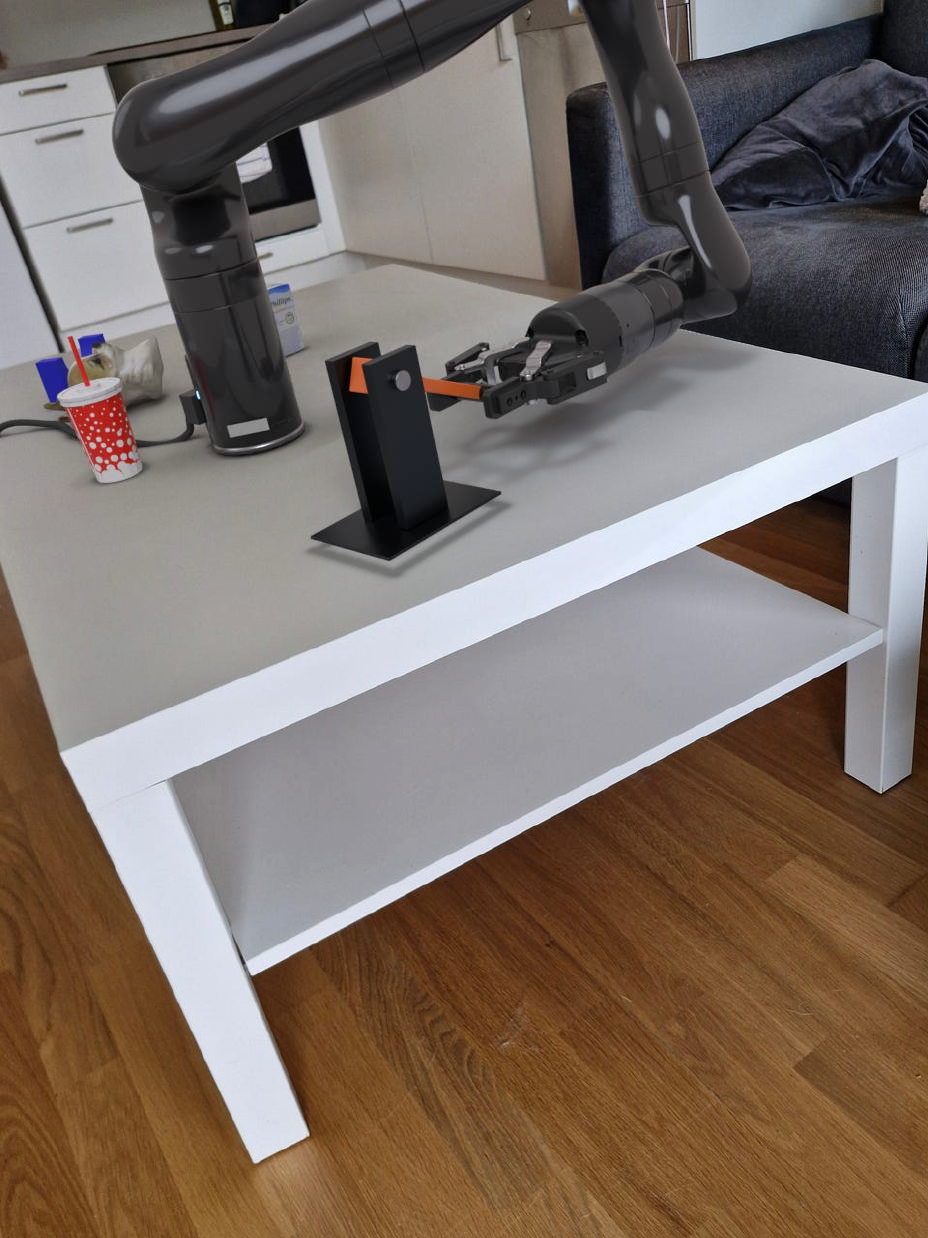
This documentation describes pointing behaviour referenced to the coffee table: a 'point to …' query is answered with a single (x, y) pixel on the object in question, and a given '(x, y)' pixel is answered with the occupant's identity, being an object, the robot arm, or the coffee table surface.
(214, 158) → the robot arm
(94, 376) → the ceramic sculpture
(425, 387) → the clamp lever
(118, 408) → the beverage cup
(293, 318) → the medicine box
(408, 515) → the black lever stand
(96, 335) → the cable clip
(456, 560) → the coffee table surface
